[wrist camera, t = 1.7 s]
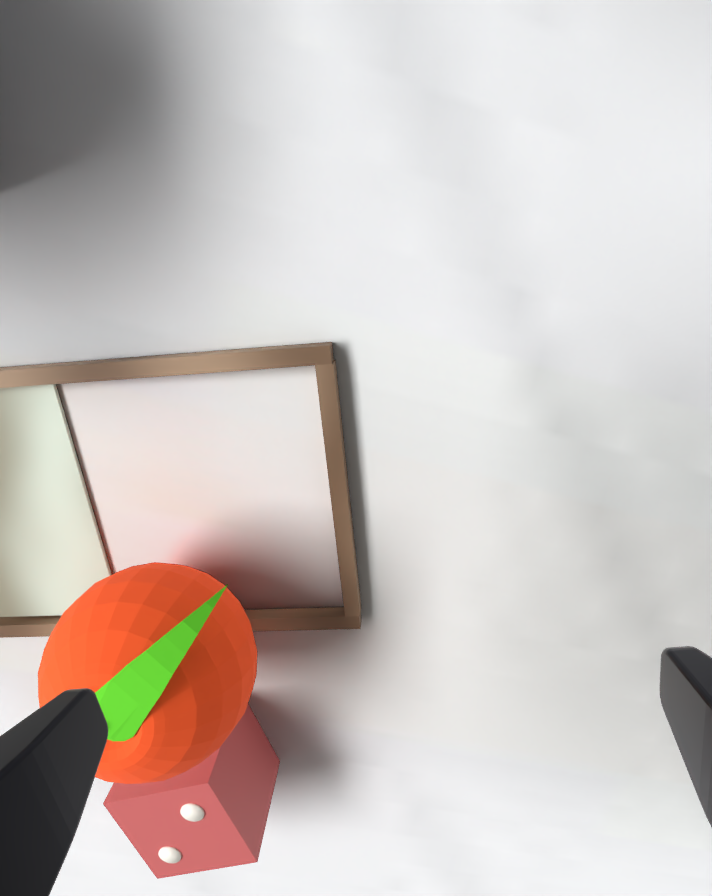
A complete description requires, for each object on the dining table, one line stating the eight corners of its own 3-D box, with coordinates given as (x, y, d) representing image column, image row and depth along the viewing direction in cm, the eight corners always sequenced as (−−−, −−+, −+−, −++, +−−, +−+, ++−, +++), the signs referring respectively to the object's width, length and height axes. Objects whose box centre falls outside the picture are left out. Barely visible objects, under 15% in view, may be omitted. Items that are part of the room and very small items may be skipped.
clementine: (196, 482, 22) (95, 533, 15) (330, 599, 22) (293, 705, 15) (77, 625, 23) (-68, 734, 16) (205, 735, 23) (116, 892, 16)
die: (240, 688, 25) (207, 784, 20) (280, 760, 26) (256, 864, 22) (151, 709, 26) (102, 805, 21) (195, 777, 27) (156, 880, 23)
